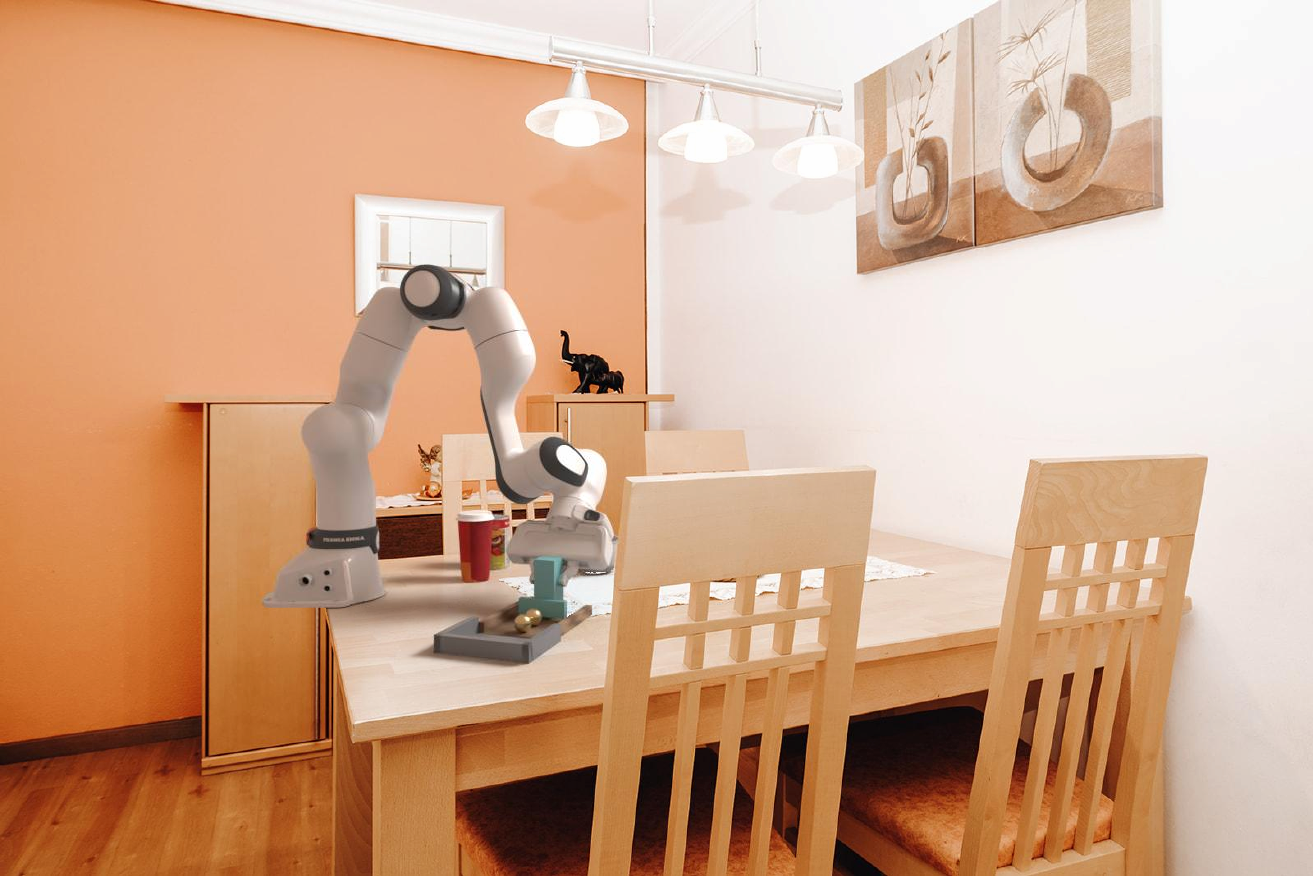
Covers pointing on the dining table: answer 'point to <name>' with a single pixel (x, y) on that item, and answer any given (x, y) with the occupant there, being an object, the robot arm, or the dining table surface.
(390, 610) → the dining table surface
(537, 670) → the dining table surface
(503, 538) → the canned food
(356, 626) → the dining table surface
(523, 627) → the ball
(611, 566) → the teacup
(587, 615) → the channel
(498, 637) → the tray
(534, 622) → the ball
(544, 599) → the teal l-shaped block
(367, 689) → the dining table surface
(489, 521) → the coffee cup
